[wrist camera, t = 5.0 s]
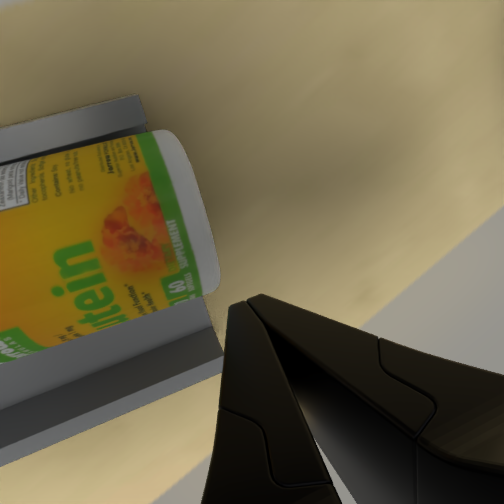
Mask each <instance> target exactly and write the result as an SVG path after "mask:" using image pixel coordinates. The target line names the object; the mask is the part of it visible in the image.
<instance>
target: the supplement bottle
mask: <svg viewBox="0 0 504 504" xmlns="http://www.w3.org/2000/svg"><path fill="white" fill-rule="evenodd" d="M220 276H221V273H220V265H219V261H218V257H217V252H216V248H215V244H214V240H213V235H212V231H211V228H210V224H209V221H208V217H207V214H206V210H205V207H204V204H203V200H202V197H201V194H200V191H199V187H198V184H197V181H196V178H195V175H194V172H193V169H192V166H191V164H190V161H189V159H188V157H187V155H186V152H185V150H184V148H183V146H182V145H181V143H180V141H179V140H178V138H177V137H176V136H175V135H174V134H173V133H172V132H171V131H168V130H156V131H151V132H145V133H140V134H136V135H131V136H127V137H122V138H118V139H114V140H110V141H105V142H101V143H97V144H93V145H89V146H85V147H80V148H76V149H71V150H67V151H63V152H59V153H54V154H50V155H46V156H42V157H38V158H34V159H30V160H25V161H21V162H17V163H13V164H9V165H4V166H0V364H3V363H6V362H9V361H13V360H16V359H18V358H21V357H24V356H28V355H30V354H33V353H36V352H39V351H42V350H45V349H47V348H50V347H53V346H56V345H59V344H62V343H65V342H68V341H70V340H73V339H76V338H79V337H82V336H85V335H88V334H91V333H94V332H98V331H100V330H103V329H106V328H109V327H112V326H115V325H118V324H120V323H123V322H126V321H129V320H132V319H135V318H138V317H141V316H144V315H147V314H150V313H153V312H156V311H159V310H162V309H165V308H168V307H171V306H174V305H177V304H180V303H183V302H186V301H189V300H192V299H195V298H197V297H200V296H203V295H206V294H208V293H211V292H213V291H214V290H216V289H217V287H218V286H219V283H220Z"/></svg>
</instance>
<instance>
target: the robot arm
mask: <svg viewBox="0 0 504 504" xmlns="http://www.w3.org/2000/svg"><path fill="white" fill-rule="evenodd" d="M218 408H219V410H218V415H217V424H216V432H215V439H214V446H213V452H212V457H211V462H210V467H209V471H208V476H207V480H206V484H205V488H204V492H203V496H202V500H201V504H342V502H341V500H340V498H339V496H338V493H337V491H336V489H335V487H334V486H333V482H332V479H331V477H330V475H329V472H328V470H327V468H326V465H325V463H324V461H323V458H322V456H321V454H320V452H319V449H318V447H317V445H316V442H317V443H318V445H319V446H320V448H321V449H322V451H323V452H324V454H325V455H326V457H327V458H328V460H329V461H330V463H331V465H332V466H333V468H334V469H335V471H336V472H337V474H338V475H339V477H340V478H341V480H342V481H343V483H344V484H345V486H346V487H347V489H348V490H349V492H350V494H351V495H352V497H353V498H354V500H355V501H356V503H357V504H504V375H502V374H499V373H495V372H491V371H487V370H484V369H480V368H477V367H473V366H469V365H466V364H462V363H458V362H455V361H451V360H448V359H444V358H441V357H438V356H434V355H431V354H427V353H424V352H421V351H418V350H415V349H412V348H409V347H406V346H403V345H400V344H398V343H395V342H392V341H389V340H387V339H384V338H379V339H378V336H375V335H373V334H370V333H367V332H365V331H362V330H359V329H357V328H354V327H351V326H348V325H346V324H343V323H340V322H338V321H335V320H332V319H330V318H327V317H324V316H321V315H319V314H316V313H313V312H311V311H308V310H305V309H302V308H300V307H297V306H294V305H292V304H289V303H286V302H284V301H281V300H278V299H275V298H273V297H270V296H267V295H265V294H259V295H256V296H253V297H251V298H248V299H247V301H241V302H238V303H235V304H233V305H231V306H229V309H228V319H227V329H226V339H225V348H224V358H223V368H222V378H221V387H220V397H219V407H218ZM313 437H314V438H313ZM314 439H315V440H316V442H315V440H314Z"/></svg>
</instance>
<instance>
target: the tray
mask: <svg viewBox="0 0 504 504" xmlns="http://www.w3.org/2000/svg"><path fill="white" fill-rule="evenodd" d="M145 123H147V120H146V117H145V114H144V111H143V108H142V105H141V102H140V99H139V96H138V95H137V94H131V95H127V96H123V97H119V98H115V99H111V100H107V101H103V102H99V103H95V104H91V105H87V106H83V107H79V108H75V109H71V110H67V111H63V112H59V113H55V114H51V115H47V116H43V117H39V118H35V119H31V120H27V121H23V122H19V123H15V124H11V125H8V126H4V127H0V166H4V165H9V164H13V163H17V162H21V161H25V160H30V159H34V158H38V157H42V156H46V155H50V154H54V153H59V152H63V151H67V150H71V149H76V148H80V147H85V146H89V145H93V144H97V143H101V142H105V141H110V140H114V139H118V138H122V137H127V136H131V135H136V134H140V133H145V132H147V131H146V128H145V125H144V124H145ZM223 358H224V352H223V350H222V347H221V345H220V343H219V340H218V338H217V336H216V333H215V331H214V329H213V326H212V324H211V321H210V318H209V315H208V312H207V309H206V306H205V303H204V300H203V297H202V296H200V297H197V298H195V299H192V300H189V301H186V302H183V303H180V304H177V305H174V306H171V307H168V308H165V309H162V310H159V311H156V312H153V313H150V314H147V315H144V316H141V317H138V318H135V319H132V320H129V321H126V322H123V323H120V324H118V325H115V326H112V327H109V328H106V329H103V330H100V331H98V332H94V333H91V334H88V335H85V336H82V337H79V338H76V339H73V340H70V341H68V342H65V343H62V344H59V345H56V346H53V347H50V348H47V349H45V350H42V351H39V352H36V353H33V354H30V355H28V356H24V357H21V358H18V359H16V360H13V361H9V362H6V363H3V364H0V467H1V466H4V465H6V464H8V463H11V462H13V461H15V460H18V459H20V458H22V457H25V456H27V455H29V454H32V453H34V452H36V451H39V450H41V449H44V448H46V447H48V446H51V445H53V444H55V443H58V442H60V441H62V440H65V439H67V438H69V437H72V436H74V435H76V434H79V433H81V432H83V431H86V430H88V429H90V428H93V427H95V426H97V425H100V424H102V423H104V422H107V421H109V420H111V419H114V418H116V417H118V416H121V415H123V414H126V413H128V412H130V411H133V410H135V409H137V408H140V407H142V406H144V405H147V404H149V403H151V402H154V401H156V400H158V399H161V398H163V397H165V396H168V395H170V394H172V393H175V392H177V391H179V390H182V389H184V388H186V387H189V386H191V385H193V384H196V383H198V382H200V381H203V380H205V379H208V378H210V377H212V376H215V375H217V374H219V373H222V368H223Z"/></svg>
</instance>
